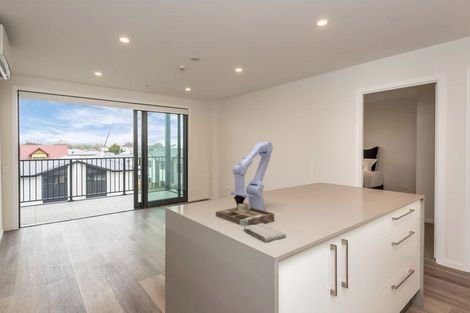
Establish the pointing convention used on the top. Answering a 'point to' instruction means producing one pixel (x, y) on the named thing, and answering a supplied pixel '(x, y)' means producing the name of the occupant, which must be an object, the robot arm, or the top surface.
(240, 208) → the birch block
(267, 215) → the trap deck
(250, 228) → the washcloth
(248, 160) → the robot arm
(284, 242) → the top surface
